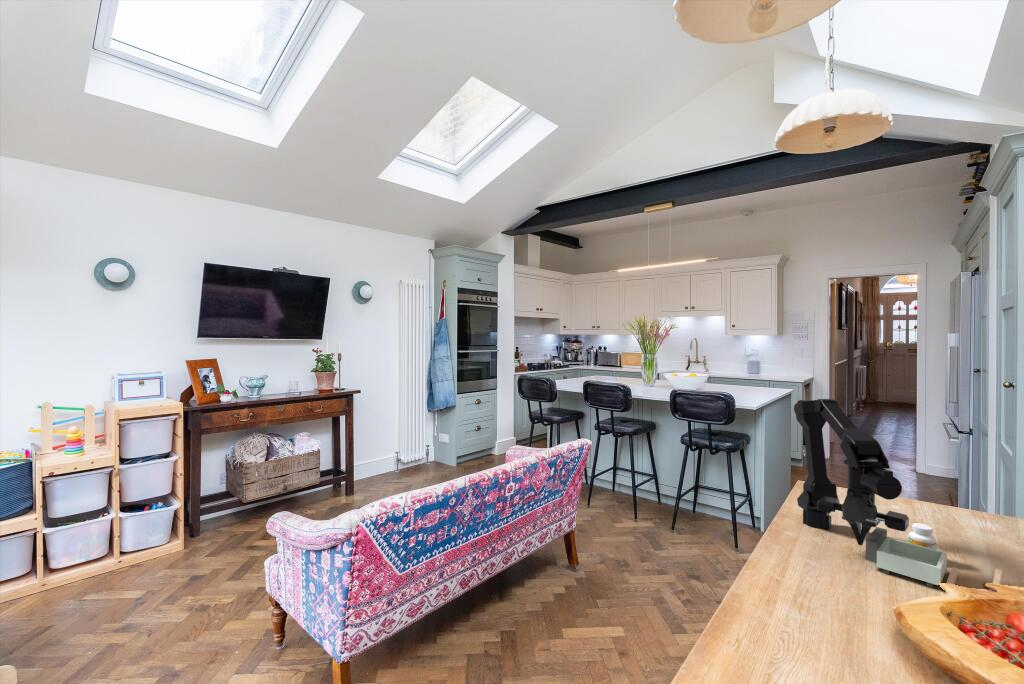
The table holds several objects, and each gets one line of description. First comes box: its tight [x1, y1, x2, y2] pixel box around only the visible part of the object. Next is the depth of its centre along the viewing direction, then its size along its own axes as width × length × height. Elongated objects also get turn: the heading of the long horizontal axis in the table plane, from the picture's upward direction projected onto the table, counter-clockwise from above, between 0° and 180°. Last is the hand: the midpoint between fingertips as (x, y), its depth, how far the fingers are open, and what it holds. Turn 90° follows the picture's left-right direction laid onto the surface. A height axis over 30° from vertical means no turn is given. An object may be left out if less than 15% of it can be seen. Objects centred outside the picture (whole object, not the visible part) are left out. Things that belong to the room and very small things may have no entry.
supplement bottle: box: [908, 522, 937, 550], centre depth 121 cm, size 5×5×10 cm
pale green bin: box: [865, 526, 948, 589], centre depth 115 cm, size 14×12×7 cm
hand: (860, 544), depth 121 cm, fingers closed
